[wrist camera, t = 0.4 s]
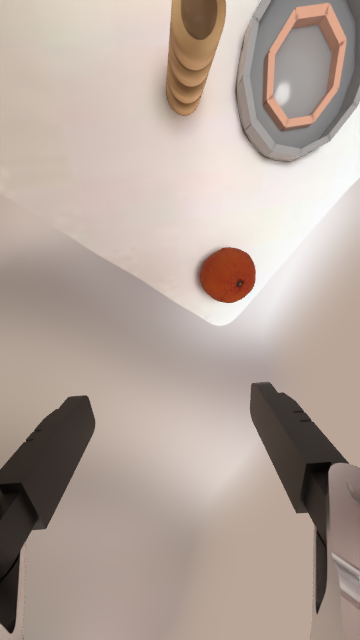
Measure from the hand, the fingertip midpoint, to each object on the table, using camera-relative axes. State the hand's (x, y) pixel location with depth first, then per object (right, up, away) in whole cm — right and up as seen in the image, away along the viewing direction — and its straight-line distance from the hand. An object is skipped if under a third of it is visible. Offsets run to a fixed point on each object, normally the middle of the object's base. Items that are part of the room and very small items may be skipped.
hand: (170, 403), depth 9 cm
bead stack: (+1, +33, +13) cm, 36 cm away
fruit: (+8, +13, +24) cm, 29 cm away
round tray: (+16, +35, +14) cm, 41 cm away
